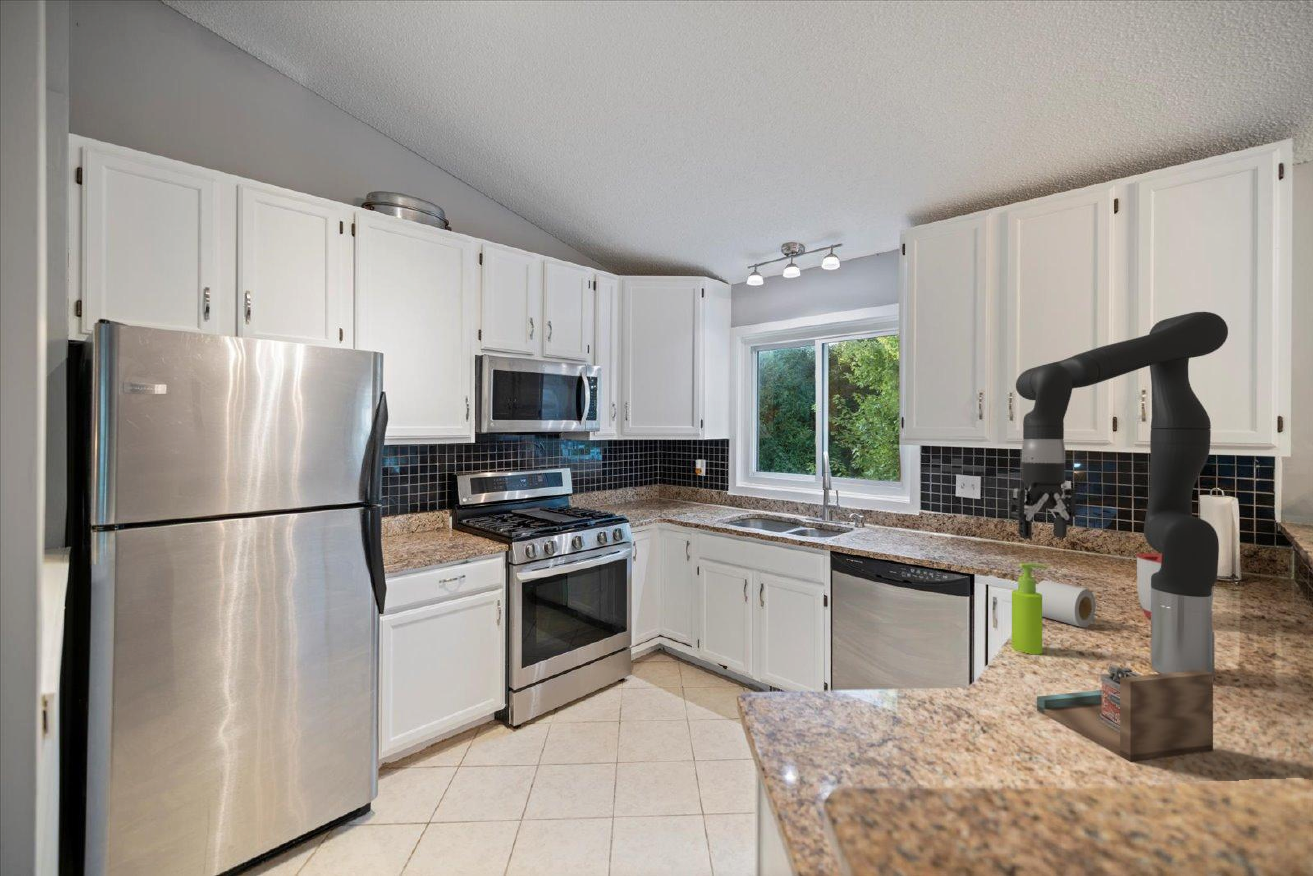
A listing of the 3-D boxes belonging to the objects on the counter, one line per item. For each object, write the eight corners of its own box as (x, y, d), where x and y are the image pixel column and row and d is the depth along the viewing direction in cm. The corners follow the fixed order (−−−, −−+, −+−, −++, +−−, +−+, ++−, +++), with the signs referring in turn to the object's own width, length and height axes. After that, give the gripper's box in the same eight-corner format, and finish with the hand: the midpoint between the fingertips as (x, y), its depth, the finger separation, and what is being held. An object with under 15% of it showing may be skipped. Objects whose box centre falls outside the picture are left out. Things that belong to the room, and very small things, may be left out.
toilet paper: (1095, 624, 146) (1095, 587, 146) (1074, 630, 141) (1074, 591, 141) (1054, 614, 155) (1054, 578, 155) (1033, 618, 150) (1033, 582, 150)
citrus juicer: (1153, 628, 143) (1153, 551, 143) (1125, 609, 159) (1125, 540, 159) (1232, 636, 137) (1232, 556, 137) (1195, 616, 153) (1195, 544, 154)
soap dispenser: (1052, 656, 124) (1052, 567, 124) (1018, 653, 125) (1018, 565, 125) (1039, 646, 129) (1039, 561, 129) (1007, 644, 131) (1007, 560, 131)
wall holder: (1109, 702, 101) (1109, 637, 101) (1213, 750, 86) (1213, 673, 86) (1036, 710, 98) (1037, 643, 98) (1130, 761, 82) (1130, 681, 82)
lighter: (1094, 718, 93) (1094, 659, 93) (1111, 717, 94) (1111, 658, 94) (1142, 744, 85) (1142, 680, 85) (1161, 742, 86) (1161, 678, 86)
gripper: (1029, 461, 110) (1029, 542, 110) (1088, 461, 113) (1088, 540, 113) (999, 460, 118) (999, 535, 117) (1055, 460, 120) (1054, 534, 120)
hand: (1042, 537), depth 115 cm, fingers open, 8 cm apart
